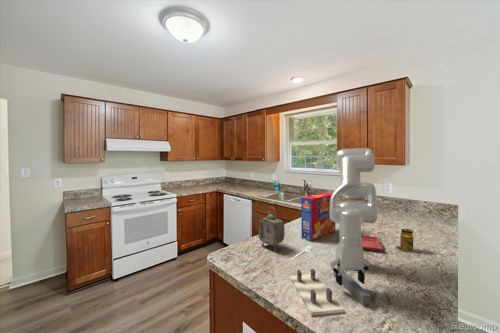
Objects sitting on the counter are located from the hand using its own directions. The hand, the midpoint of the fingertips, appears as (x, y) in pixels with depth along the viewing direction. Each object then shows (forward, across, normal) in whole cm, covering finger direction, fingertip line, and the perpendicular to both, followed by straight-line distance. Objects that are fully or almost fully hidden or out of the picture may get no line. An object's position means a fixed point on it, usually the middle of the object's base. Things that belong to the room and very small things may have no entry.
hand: (350, 282), depth 87 cm
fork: (+3, +7, -35) cm, 36 cm away
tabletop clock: (+2, +22, -46) cm, 51 cm away
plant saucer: (+2, -34, -40) cm, 53 cm away
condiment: (+1, -54, -30) cm, 61 cm away
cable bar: (+3, 0, -1) cm, 3 cm away
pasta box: (+1, -16, -60) cm, 62 cm away
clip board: (+3, +16, -1) cm, 16 cm away
